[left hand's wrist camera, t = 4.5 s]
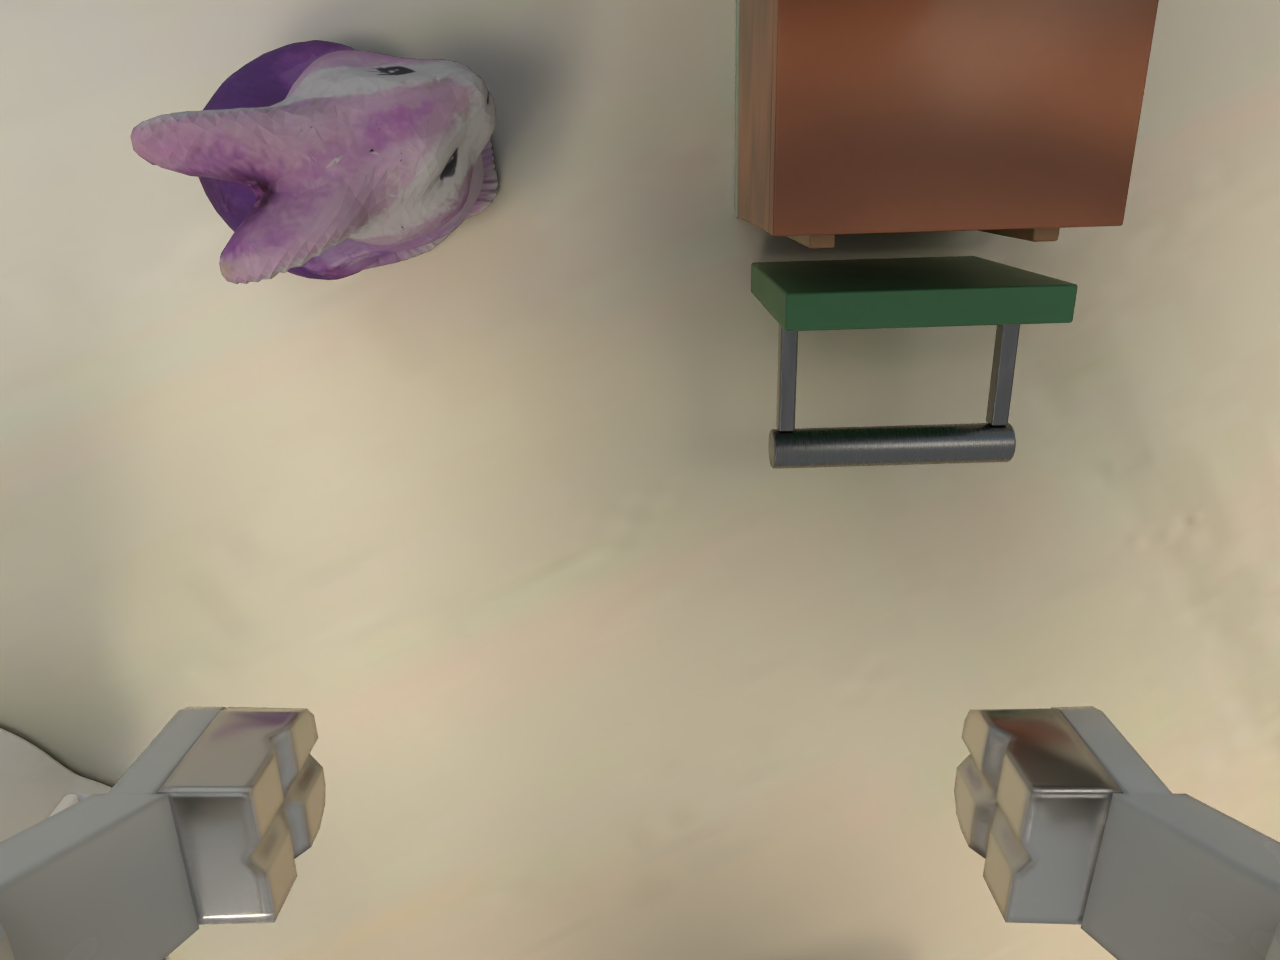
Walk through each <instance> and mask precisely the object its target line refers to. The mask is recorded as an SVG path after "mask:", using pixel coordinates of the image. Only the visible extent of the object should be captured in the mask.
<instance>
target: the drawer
mask: <svg viewBox="0 0 1280 960" xmlns="http://www.w3.org/2000/svg"><path fill="white" fill-rule="evenodd" d="M978 231H983V232H988V233H993V234H998V235H1003V236H1008V237H1014V238H1019V239H1024V240H1029V241H1034V242H1039V241H1056V240H1057V239H1058V235H1059V228H1030V229H998V230H978ZM786 237H788V238H790V239H792V240H794V241H796V242H798V243H800V244H802V245H804V246H806V247H808V248H811V249H815V248H834V246H835V235H804V236H786ZM751 292H752V293H753V294H754V295H755V296H756V298H757V299H758V300H759V301H760V302H761V303H762V304H763V306H764V307H765V308H766V309H767V310H768V311H769V312H770V314H771V315H772V316H773V317H774V318H775V319H776V320H777V321H778V323H779V348H778V386H777V423H776V427H777V429H772V430H771V431H770V435H769V459H770V465H771V467H772V468H807V467H842V466H877V465H912V464H947V463H982V462H1008V461H1010V460H1011V459H1012V457H1013V455H1014V452H1015V443H1016V442H1015V433H1014V430H1013V428H1012V426H1011V425H1010V424H1009V423H1008V416H1009V408H1010V400H1011V392H1012V384H1013V376H1014V368H1015V360H1016V352H1017V344H1018V336H1019V328H1020V324H1040V323H1070V322H1072V320H1073V313H1074V306H1075V299H1076V293H1077V285H1076V284H1072V283H1069V282H1065V281H1061V280H1058V279H1054V278H1051V277H1047V276H1043V275H1040V274H1036V273H1033V272H1029V271H1025V270H1022V269H1018V268H1014V267H1011V266H1007V265H1004V264H1000V263H996V262H993V261H989V260H986V259H982V258H978V257H975V256H960V257H928V258H895V259H863V260H830V261H798V262H765V263H752V265H751ZM974 325H997V331H996V339H995V348H994V356H993V365H992V374H991V382H990V391H989V400H988V408H987V417H986V422H987V423H977V424H942V425H907V426H873V427H838V428H804V429H795V403H796V374H797V345H798V331H807V330H840V329H874V328H907V327H940V326H974Z"/></svg>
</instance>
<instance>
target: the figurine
mask: <svg viewBox="0 0 1280 960" xmlns="http://www.w3.org/2000/svg"><path fill="white" fill-rule="evenodd" d="M495 123H496V110H495V104H494V99H493V97H492V95H491V93H490V92H489V91H488V89H487V87H486V85H485V83H484V81H483V80H482V79H481V78H480V77H479V76H478V75H477V74H475V73H474V72H472V71H471V70H470V69H469V68H468V67H467V66H465V65H463V64H460V63H457V62H454V61H448V60H442V59H440V60H424V59H411V58H402V57H394V56H389V55H384V54H379V53H374V52H369V51H356V50H354V49H353V48H351V47H348V46H345V45H342V44H338V43H333V42H327V41H320V40H313V41H307V42H300V43H293V44H289V45H286V46H283V47H281V48H278V49H275V50H273V51H270V52H268V53H265V54H263V55H261V56H260V57H258V58H256V59H254V60H253V61H251V62H249V63H248V64H246V65H245V66H243V67H242V68H240V69H239V70H238V71H236V72H235V73H233V74H232V75H231V76H230V77H229V78H227V79H226V80H225V81H224V82H223V83H222V85H221V86H220V87H219V88H218V90H217V91H216V92H215V94H214V95H213V96H212V98H211V99H210V101H209V102H208V104H207V105H206V106H205V108H204V109H203V111H186V112H178V113H171V114H165V115H160V116H157V117H154V118H152V119H149V120H146V121H143V122H141V123H140V124H139V125H137V126H136V127H134V128H133V130H132V133H131V141H132V146H133V150H134V151H135V152H136V153H137V154H138V155H139V156H140V157H142V158H143V159H145V160H146V161H148V162H149V163H151V164H152V165H158V166H160V167H162V168H165V169H168V170H172V171H175V172H179V173H182V174H186V175H189V176H197V177H199V179H200V182H201V184H202V186H203V189H204V191H205V193H206V195H207V197H208V198H209V200H210V202H211V203H212V205H213V207H214V208H215V210H216V211H217V213H218V214H219V215H220V216H221V217H222V219H223V220H224V221H225V222H226V223H227V224H228V226H229V227H230V228H231V229H232V230H233V231H234V232H235V233H234V234H233V236H232V237H231V239H230V240H229V242H228V244H227V245H226V247H225V248H224V250H223V251H222V253H221V257H220V263H219V264H220V269H221V273H222V275H223V277H224V278H225V279H226V280H227V281H229V282H232V283H236V284H238V283H245V284H247V283H248V282H250V281H252V282H259V281H260V280H262V279H272V278H273V277H274V276H276V275H277V274H278V273H279V272H287V271H288V272H290V273H293V274H295V275H299V276H302V277H306V278H313V279H325V280H335V279H340V278H344V277H347V276H350V275H353V274H355V273H358V272H360V271H361V270H364V269H368V268H373V267H377V266H382V265H387V264H391V263H396V262H399V261H403V260H407V259H409V258H411V257H415V256H418V255H420V254H423V253H425V252H428V251H430V250H432V249H433V248H434V247H435V246H436V245H437V244H439V243H441V242H442V241H443V240H444V239H445V238H446V237H447V236H448V235H449V234H450V233H451V232H453V231H454V230H455V229H456V228H457V227H458V226H459V225H460V224H461V223H462V222H463V221H464V219H467V218H469V217H471V216H474V215H476V214H479V213H481V212H482V211H483V210H485V209H486V208H487V207H488V206H489V205H490V204H491V202H492V201H493V200H494V198H495V197H496V194H497V192H496V189H497V187H498V180H497V174H496V171H495V170H494V168H495V164H494V163H493V161H494V157H493V156H492V154H493V150H492V149H491V147H492V143H491V142H490V140H491V135H492V133H493V130H494V126H495Z"/></svg>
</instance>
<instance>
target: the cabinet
mask: <svg viewBox="0 0 1280 960" xmlns="http://www.w3.org/2000/svg"><path fill="white" fill-rule="evenodd" d="M1157 7H1158V0H736V91H735V211H734V216H735V217H737V218H741V219H743V220H745V221H747V222H749V223H751V224H753V225H755V226H756V227H758V228H760V229H762V230H764V231H766V232H768V233H769V234H770V235H772V236H804V235H837V234H869V233H901V232H933V231H966V230H998V229H1030V228H1062V227H1095V226H1120V225H1122V224H1123V219H1124V212H1125V206H1126V200H1127V194H1128V187H1129V181H1130V175H1131V169H1132V162H1133V156H1134V150H1135V144H1136V138H1137V131H1138V125H1139V119H1140V113H1141V106H1142V100H1143V94H1144V88H1145V81H1146V75H1147V69H1148V63H1149V56H1150V50H1151V44H1152V38H1153V32H1154V25H1155V19H1156V13H1157Z"/></svg>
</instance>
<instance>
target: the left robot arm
mask: <svg viewBox="0 0 1280 960" xmlns="http://www.w3.org/2000/svg"><path fill="white" fill-rule="evenodd" d="M317 739H318V734H317V729H316V723H315V718H314V715H313V714H312V713H311V712H310V711H309V710H308V709H299V708H252V707H228V708H225V707H188V708H185V709H182V710H179V711H178V712H177V713H176V714H175V715H174V716H173V718H172V719H171V720H170V721H169V722H168V723H167V725H166V726H165V727H164V728H163V729H162V730H161V732H160V733H159V734H158V735H157V736H156V737H155V739H154V740H153V741H152V742H151V743H150V744H149V746H148V747H147V748H146V749H145V750H144V751H143V753H142V754H141V755H140V756H139V757H138V758H137V760H136V761H135V762H134V763H133V764H132V766H131V767H130V768H129V769H128V770H127V771H126V773H125V774H124V775H123V776H122V777H121V778H120V780H119V781H118V782H117V783H116V784H115V785H114V787H113V788H112V787H110V786H107V785H105V784H102V783H99V782H97V781H94V780H91V779H88V778H85V777H82V776H79V775H77V774H75V773H74V772H72V771H70V770H69V769H67V768H66V767H64V766H63V765H61V764H60V763H59V762H57V761H56V760H55V759H53V758H52V757H51V756H49V755H48V754H46V753H45V752H44V751H42V750H41V749H39V748H38V747H36V746H35V745H33V744H31V743H30V742H28V741H26V740H25V739H23V738H21V737H19V736H17V735H15V734H13V733H11V732H9V731H6V730H4V729H2V728H0V960H163V959H164V958H165V957H166V956H168V955H169V954H170V953H171V952H172V951H173V950H175V949H176V948H177V947H178V946H179V945H180V944H182V943H183V942H184V941H185V940H186V939H187V938H189V937H190V936H191V935H192V934H193V933H194V932H196V931H197V930H198V929H199V925H198V924H230V923H264V922H275V920H276V918H277V916H278V914H279V912H280V910H281V908H282V906H283V904H284V902H285V900H286V898H287V896H288V894H289V892H290V890H291V888H292V885H293V883H294V881H295V879H296V877H297V872H296V866H295V860H294V859H295V858H296V857H298V856H299V855H301V854H302V853H303V852H305V851H306V850H307V849H309V848H310V847H311V846H312V844H313V842H314V840H315V837H316V835H317V833H318V831H319V829H320V825H321V820H322V816H323V811H324V806H325V778H324V771H323V767H322V766H321V765H320V764H319V763H318V762H317V761H316V760H315V759H314V758H313V757H312V756H311V755H310V752H311V750H312V748H313V746H314V745H315V743H316V741H317ZM962 739H963V741H964V743H965V745H966V746H967V748H968V750H969V752H970V755H969V756H968V757H967V758H966V759H965V760H964V761H963V762H962V763H961V764H960V765H959V766H958V767H957V772H956V780H955V789H954V793H955V804H956V814H957V817H958V821H959V824H960V828H961V831H962V833H963V835H964V837H965V840H966V842H967V844H968V846H969V847H970V848H971V849H973V850H974V851H975V852H977V853H978V854H979V855H981V856H982V857H984V858H985V859H986V860H985V866H984V872H983V877H984V879H985V881H986V883H987V885H988V887H989V890H990V892H991V894H992V896H993V898H994V900H995V902H996V904H997V906H998V908H999V910H1000V912H1001V914H1002V916H1003V918H1004V920H1005V922H1014V923H1049V924H1082V925H1081V929H1083V930H1084V931H1085V932H1086V933H1087V934H1088V935H1090V936H1091V937H1092V938H1093V939H1094V940H1095V941H1097V942H1098V943H1099V944H1100V945H1101V946H1102V947H1104V948H1105V949H1106V950H1107V951H1108V952H1109V953H1110V954H1112V955H1113V956H1114V957H1115V958H1116V959H1117V960H1280V842H1278V841H1276V840H1274V839H1272V838H1270V837H1268V836H1266V835H1264V834H1262V833H1260V832H1258V831H1256V830H1255V829H1253V828H1251V827H1249V826H1247V825H1245V824H1243V823H1241V822H1239V821H1237V820H1235V819H1233V818H1231V817H1230V816H1228V815H1226V814H1224V813H1222V812H1220V811H1218V810H1216V809H1214V808H1212V807H1210V806H1208V805H1206V804H1205V803H1203V802H1201V801H1199V800H1197V799H1195V798H1193V797H1191V796H1189V795H1187V794H1172V792H1171V791H1170V790H1169V789H1168V788H1167V787H1166V785H1165V784H1164V783H1163V782H1162V781H1161V780H1160V778H1159V777H1158V776H1157V775H1156V774H1155V773H1154V771H1153V770H1152V769H1151V768H1150V767H1149V766H1148V764H1147V763H1146V762H1145V761H1144V760H1143V759H1142V757H1141V756H1140V755H1139V754H1138V753H1137V752H1136V750H1135V749H1134V748H1133V747H1132V746H1131V745H1130V743H1129V742H1128V741H1127V740H1126V739H1125V738H1124V736H1123V735H1122V734H1121V733H1120V732H1119V731H1118V729H1117V728H1116V727H1115V726H1114V725H1113V724H1112V722H1111V721H1110V720H1109V719H1108V718H1107V717H1106V715H1105V714H1104V713H1103V712H1102V711H1101V710H1098V709H1096V708H1094V707H1092V706H1086V707H1055V708H1051V709H982V710H969V713H968V715H967V717H966V719H965V721H964V727H963V733H962Z"/></svg>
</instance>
